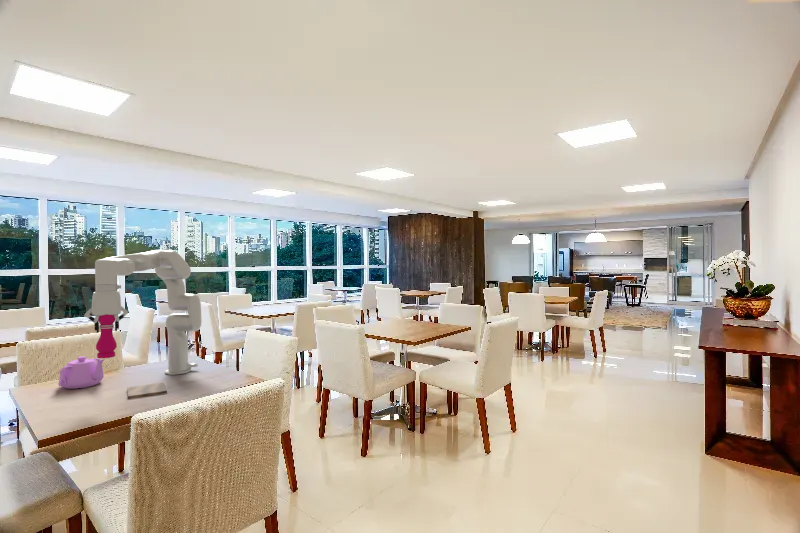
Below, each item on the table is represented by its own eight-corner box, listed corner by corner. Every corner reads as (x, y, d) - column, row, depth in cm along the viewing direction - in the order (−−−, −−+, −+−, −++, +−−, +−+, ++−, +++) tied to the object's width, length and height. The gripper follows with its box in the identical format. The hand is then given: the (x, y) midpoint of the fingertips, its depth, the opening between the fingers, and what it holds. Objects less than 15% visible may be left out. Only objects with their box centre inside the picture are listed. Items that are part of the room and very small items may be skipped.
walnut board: (164, 384, 207) (164, 382, 207) (167, 393, 194) (167, 390, 194) (127, 390, 198) (127, 387, 198) (128, 399, 186) (128, 396, 186)
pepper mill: (99, 359, 174) (100, 310, 174) (93, 356, 178) (93, 309, 178) (119, 356, 180) (120, 309, 180) (112, 354, 184) (113, 307, 184)
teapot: (83, 394, 192) (83, 363, 192) (44, 391, 196) (43, 361, 196) (124, 380, 213) (124, 353, 213) (88, 377, 218) (87, 351, 217)
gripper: (130, 287, 187) (130, 328, 187) (81, 288, 177) (82, 331, 178) (130, 288, 180) (131, 330, 181) (80, 290, 171) (80, 334, 172)
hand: (107, 330), depth 179 cm, fingers closed on pepper mill, 5 cm apart
